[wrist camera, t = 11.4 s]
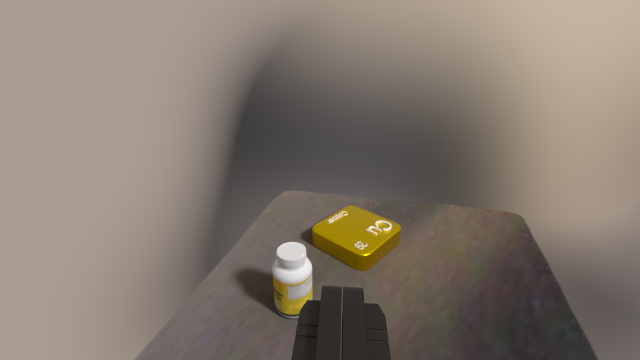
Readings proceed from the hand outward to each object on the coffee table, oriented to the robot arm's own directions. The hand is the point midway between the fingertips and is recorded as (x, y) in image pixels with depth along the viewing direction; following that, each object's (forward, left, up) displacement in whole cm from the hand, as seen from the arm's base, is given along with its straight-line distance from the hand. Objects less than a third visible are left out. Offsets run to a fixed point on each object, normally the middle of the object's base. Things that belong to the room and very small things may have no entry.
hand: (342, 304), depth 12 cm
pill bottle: (+27, +19, -34) cm, 48 cm away
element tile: (+49, +16, -35) cm, 62 cm away
